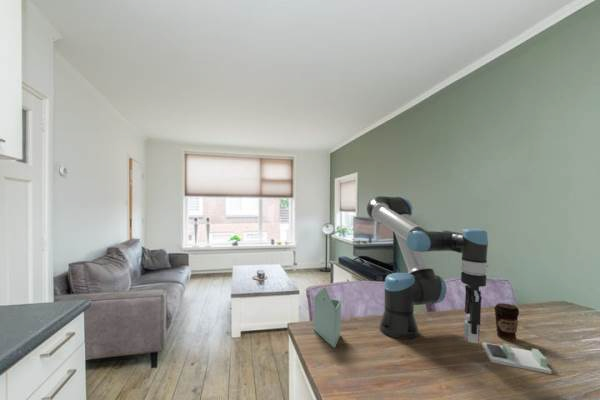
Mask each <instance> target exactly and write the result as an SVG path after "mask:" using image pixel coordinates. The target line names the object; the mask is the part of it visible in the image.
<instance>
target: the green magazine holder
mask: <svg viewBox="0 0 600 400" xmlns="http://www.w3.org/2000/svg"><path fill="white" fill-rule="evenodd" d="M313 301H314V302H313V305H314V306H313V309H314V310H313V330H314V331H315V332H316V334H318V335H319V336H321V338H322V339H323V340H324V341H326V343H328V345H330V346H331V347H332V348H334V349H335V348H336V346H337V344H338V343H339V340H340V336H341V321H342V320H341V318H342V315H341V314H342V301H341V300H339V299H338V300H337V299H334V298H333V299H332V298H331V297H330V294H329V292H328V290H327V287H326V286H323V287H322V289H321V290H319V291H318V292H317V293H316V294H315V295H314V300H313Z"/></svg>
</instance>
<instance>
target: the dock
mask: <svg viewBox="0 0 600 400" xmlns="http://www.w3.org/2000/svg"><path fill="white" fill-rule="evenodd" d="M481 346H482V348H483V349H484V351H485V354H486V355H487V357H488V360H489V361H490V362H491V363H494V364H500V365H505V366H509V367H515V368H520V369H524V370H528V371H529V370H531V371H535V372H539V373H545V374H551V375H552V370H551V369H550V368H549V366H548V358H546V357H545V356H544V355H543V354H542V352H541V351H540V350H539V349H538V348H532V347H531V350H527V349H522V348H518V347H517V348H516V347H512V346H510V345H509V344H508V343H503V342H502V343H501V345H500V344H494V343H489V342H484V341H482V342H481Z"/></svg>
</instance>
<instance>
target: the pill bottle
mask: <svg viewBox="0 0 600 400" xmlns="http://www.w3.org/2000/svg"><path fill="white" fill-rule="evenodd" d="M467 321H470V314H466V313H465V319H464V320H463V339H464V340H466V341H467V342H468V332H469V323H467ZM480 328H481V324H480V325H478V343H479V342H480V336H481V335H480V333H481V329H480Z"/></svg>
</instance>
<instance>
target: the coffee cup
mask: <svg viewBox="0 0 600 400" xmlns="http://www.w3.org/2000/svg"><path fill="white" fill-rule="evenodd" d="M493 309H494V315H495V328H496V335H497V337H498V338H500V339H502V340H505V341H509V342H510V341H511V342H513V341H514V342H515V341H517V331H518V326H519V319H518V318H519V315H520V310H519V308H518V307H517V306H515V304H511V303H510V304H509V303H501V302H500V303H499V302H498V303H496V305H495V306H494V308H493Z"/></svg>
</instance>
